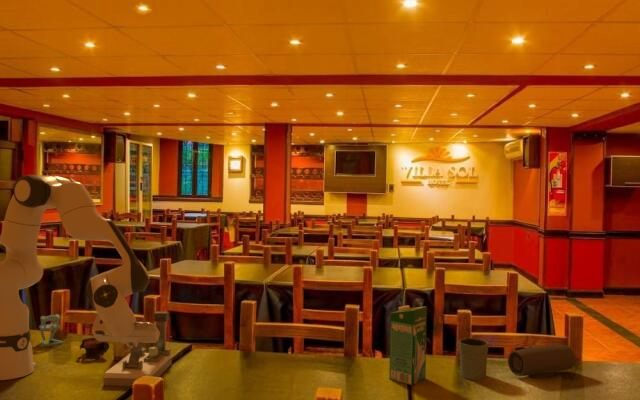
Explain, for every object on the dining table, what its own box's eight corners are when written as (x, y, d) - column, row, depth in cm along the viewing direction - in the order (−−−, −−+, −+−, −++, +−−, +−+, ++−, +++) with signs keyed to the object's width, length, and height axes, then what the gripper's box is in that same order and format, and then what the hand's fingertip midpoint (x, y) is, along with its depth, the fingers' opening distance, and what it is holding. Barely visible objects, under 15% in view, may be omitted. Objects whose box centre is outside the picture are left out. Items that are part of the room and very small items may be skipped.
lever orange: (124, 366, 178) (135, 322, 187) (126, 369, 180) (137, 325, 189) (137, 367, 178) (148, 323, 187) (139, 369, 179) (150, 326, 189)
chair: (57, 339, 226) (57, 310, 225) (62, 343, 219) (62, 314, 219) (36, 342, 221) (36, 313, 220) (41, 347, 214) (41, 317, 214)
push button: (147, 358, 187) (147, 349, 187) (150, 355, 190) (150, 346, 190) (156, 358, 187) (156, 349, 187) (159, 355, 190) (159, 346, 190)
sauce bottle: (127, 362, 198) (127, 308, 197) (110, 361, 198) (110, 307, 197) (133, 356, 204) (134, 304, 204) (117, 356, 204) (117, 304, 204)
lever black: (153, 355, 192) (154, 313, 192) (156, 353, 195) (156, 311, 194) (166, 356, 192) (166, 313, 192) (168, 354, 194) (168, 311, 194)
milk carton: (402, 372, 191) (403, 302, 190) (425, 378, 185) (427, 305, 184) (389, 379, 184) (390, 306, 183) (412, 385, 178) (413, 310, 177)
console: (103, 385, 175) (103, 365, 174) (131, 363, 197) (131, 345, 196) (149, 386, 174) (149, 367, 174) (171, 364, 196) (171, 346, 196)
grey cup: (467, 381, 182) (468, 346, 182) (452, 371, 192) (453, 338, 192) (493, 379, 185) (494, 344, 184) (477, 369, 195) (478, 336, 194)
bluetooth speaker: (556, 367, 198) (556, 340, 198) (576, 375, 190) (577, 347, 189) (506, 374, 190) (506, 346, 190) (525, 383, 181) (525, 354, 181)
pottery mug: (73, 362, 199) (74, 339, 202) (88, 366, 207) (89, 344, 211) (103, 355, 197) (103, 333, 201) (117, 359, 206) (117, 338, 209)
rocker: (130, 352, 192) (130, 348, 192) (133, 350, 195) (134, 345, 195) (141, 355, 192) (142, 350, 192) (145, 352, 195) (145, 348, 195)
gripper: (156, 314, 171) (166, 336, 181) (92, 313, 172) (106, 335, 182) (151, 332, 166) (161, 354, 176) (86, 331, 167) (100, 352, 177)
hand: (133, 344), depth 179 cm, fingers closed
